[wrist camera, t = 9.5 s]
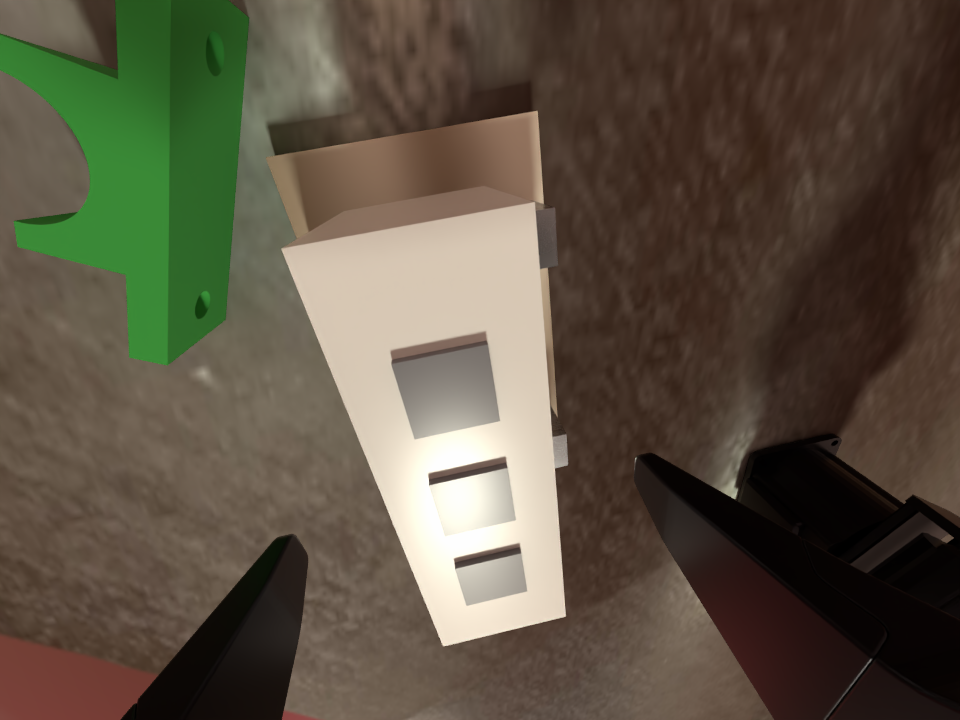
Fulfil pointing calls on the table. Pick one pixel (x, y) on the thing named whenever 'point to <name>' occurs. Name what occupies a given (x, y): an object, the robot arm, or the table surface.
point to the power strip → (447, 393)
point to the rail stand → (429, 188)
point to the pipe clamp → (151, 162)
